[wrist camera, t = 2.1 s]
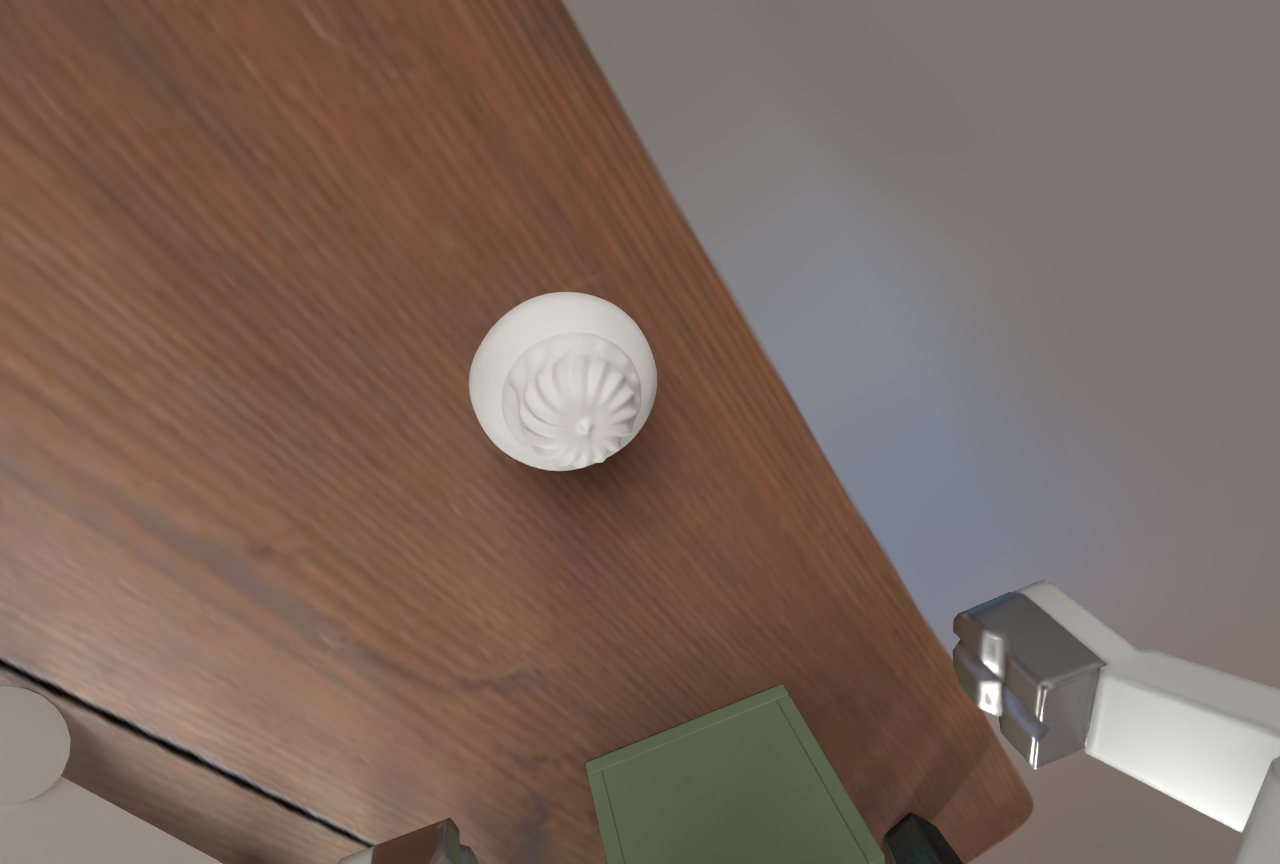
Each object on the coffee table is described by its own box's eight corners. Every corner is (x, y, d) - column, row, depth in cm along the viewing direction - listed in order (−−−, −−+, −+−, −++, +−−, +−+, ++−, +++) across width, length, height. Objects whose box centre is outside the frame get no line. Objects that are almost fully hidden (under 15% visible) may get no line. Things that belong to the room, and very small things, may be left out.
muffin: (644, 280, 25) (711, 340, 19) (615, 429, 27) (666, 524, 21) (473, 256, 23) (486, 313, 17) (458, 419, 25) (464, 521, 19)
